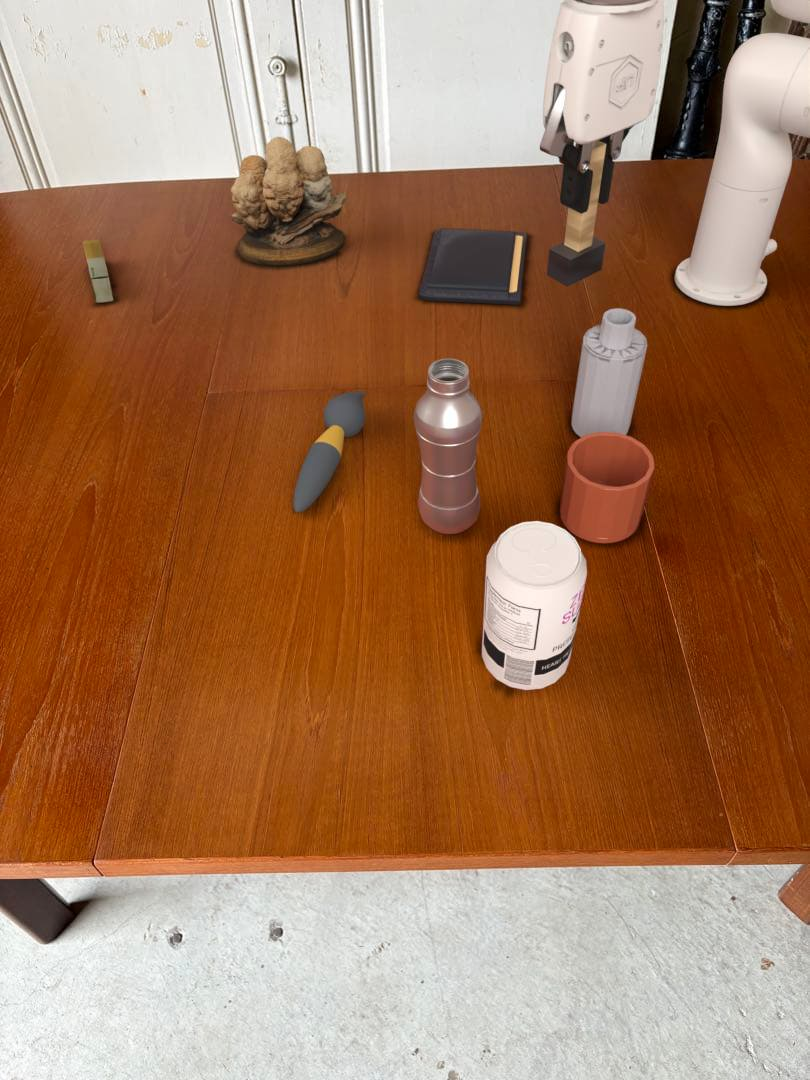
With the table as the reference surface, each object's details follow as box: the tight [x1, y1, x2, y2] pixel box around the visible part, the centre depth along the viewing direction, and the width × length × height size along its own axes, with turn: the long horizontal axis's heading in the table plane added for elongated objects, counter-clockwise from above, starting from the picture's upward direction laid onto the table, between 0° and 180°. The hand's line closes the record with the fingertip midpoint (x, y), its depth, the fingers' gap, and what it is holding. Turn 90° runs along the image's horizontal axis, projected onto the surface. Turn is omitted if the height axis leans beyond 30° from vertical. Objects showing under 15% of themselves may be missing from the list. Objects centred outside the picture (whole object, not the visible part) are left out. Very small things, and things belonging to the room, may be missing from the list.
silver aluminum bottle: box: [413, 358, 483, 535], centre depth 81 cm, size 6×7×20 cm
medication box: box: [82, 239, 114, 304], centre depth 123 cm, size 12×3×4 cm, turn 21°
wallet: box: [418, 228, 528, 306], centre depth 122 cm, size 20×2×15 cm
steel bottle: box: [571, 307, 648, 438], centre depth 92 cm, size 7×7×15 cm
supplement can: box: [481, 520, 588, 691], centre depth 71 cm, size 8×8×15 cm
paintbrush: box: [292, 391, 367, 514], centre depth 94 cm, size 20×5×5 cm, turn 167°
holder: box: [559, 432, 655, 544], centre depth 85 cm, size 9×9×8 cm
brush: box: [546, 140, 607, 288], centre depth 79 cm, size 5×3×13 cm, turn 128°
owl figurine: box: [230, 136, 348, 267], centre depth 123 cm, size 18×12×17 cm, turn 96°
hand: (583, 201), depth 78 cm, fingers closed on brush, 2 cm apart
